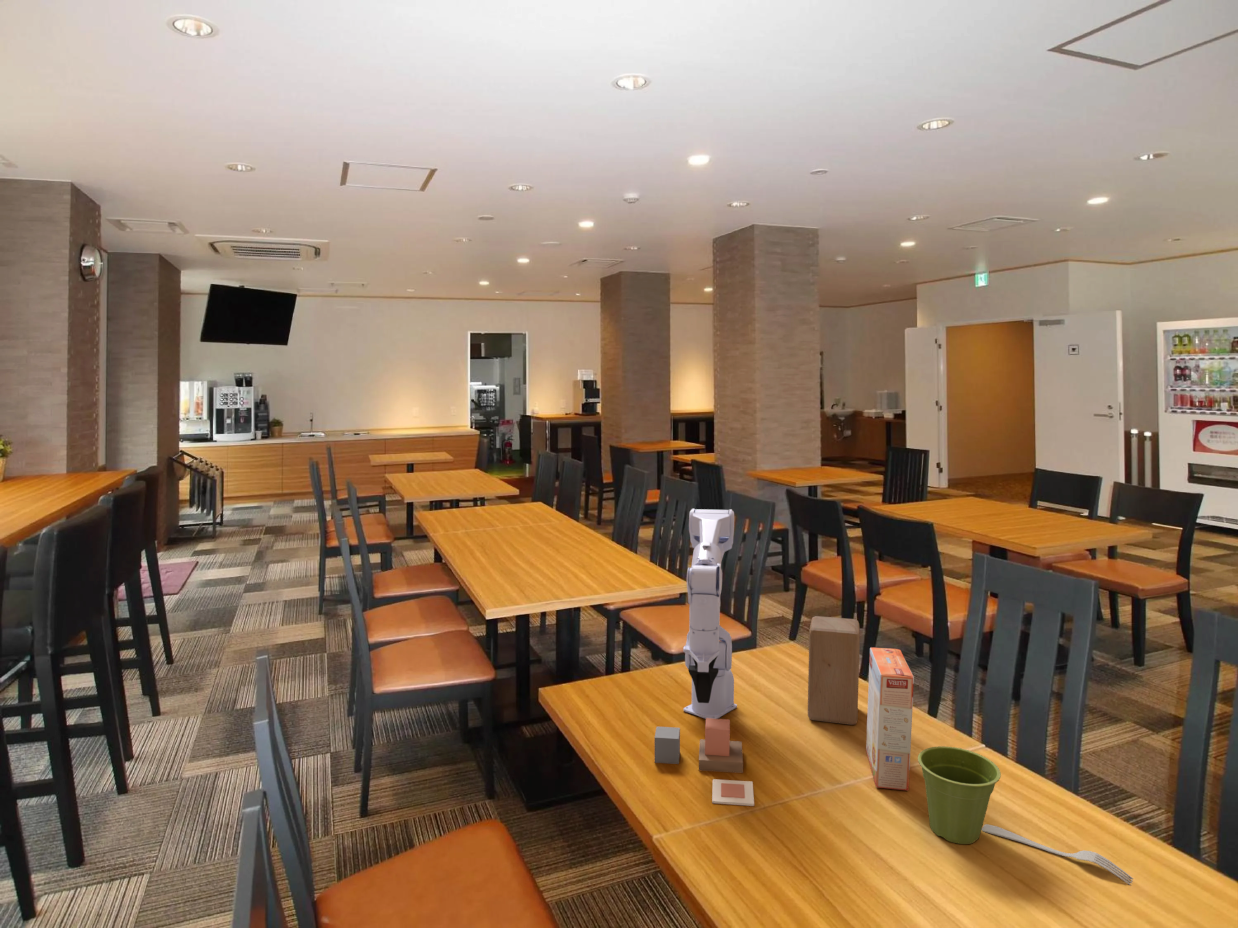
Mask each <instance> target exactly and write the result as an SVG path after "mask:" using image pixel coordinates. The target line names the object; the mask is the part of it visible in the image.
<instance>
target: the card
mask: <svg viewBox="0 0 1238 928" xmlns="http://www.w3.org/2000/svg"><path fill="white" fill-rule="evenodd" d="M753 783H754V782H753V781H749V780H745V781H744V780H735V779H734V780H733V779H731V780H729V779H716V778H715V779H714V778H713V779H712V793H711V794H712V796H711V797H712V798H711V799H712V800H711V801H712V802H711V803H712V804H719V805H720V804H721V805H735V806H748V807H749V806H750V807H754V806H755V799H754V797H755V796H754V795H755V794H754V784H753Z"/></svg>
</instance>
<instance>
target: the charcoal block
mask: <svg viewBox="0 0 1238 928" xmlns="http://www.w3.org/2000/svg"><path fill="white" fill-rule="evenodd" d="M680 753H681V727H675V726H674V727H673V726H672V727H671V726H656V728H655V734H654V763H656V764H659V763H660V764H670V765H671V764H672V765H674V764H675V765H676V764H677V765H679V763H680Z"/></svg>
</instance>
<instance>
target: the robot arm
mask: <svg viewBox="0 0 1238 928" xmlns="http://www.w3.org/2000/svg"><path fill="white" fill-rule="evenodd" d="M688 515H689V517H688V518H689V519H688V531H689V537H690V538H689V539H690V543H691V547H692V549H693V550H692V551H693V553H692V560H691V566H690V567H689V566H688V568H687V571H686V590H687V598H688V600H687V603H688V605H689V613H688V615H689V622H688V624H689V627H688V629H689V631H688V632H687V634H686V643H685V645H684V646H683V649H682V651H683V653H684V654H685V655H684V663H685V664H684V665H685V667H686V668H687V670H688V673H689V676H690V677H691V704H689V705H687V706H685V707H683V711H684V712H685V713H689V714H692V715H694V716H698V717H700V718H703V719H705V720H706V718H712V719H721V717H722V716H725V715H726V714H727V713H730V712H731V711H733V710H734V709H737V707H738V704H737V703H735V697H734V696H735V678H734V674H733V672H732V666H733V664H732V662H733V658H732V657H733V644H732V636H731V633H730V632H729V631H728V630H726V628H724V627H722V626H721V625H720V617H721V616H720V615H721V614H720V613H721V593H722V588H723V571H722V560H723V558H724V554H725V552H727V551H729V550H731V549H733V544H734V535H735V512H734V510H733V509H732V508H731V509H709V508H707V509H705V508H704V509H702V508H701V509H697V508H696V509H695V508H691V509H690V511H689V514H688Z"/></svg>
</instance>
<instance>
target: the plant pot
mask: <svg viewBox="0 0 1238 928" xmlns="http://www.w3.org/2000/svg"><path fill="white" fill-rule="evenodd" d="M917 762H918V764H919V766H920V767H921V771H922V776H923V779H924V785H925V794H926V801H927V811H928V820H929V826H930V828H931V831H932V832H933V833H934V834H935V835H936V836H938V837H941V838H943V839H945V840H946V841H947V842H950V843H954V844H959V845H969V844H973V843H975V842H976V841H977V840H978V839H980V835H981V833H982V830H981V829H982V827H983V826H984V821H985V816H986V813H987V810H988V807H989V806H988V805H989V803H990V798H991V795H992V794H993V792H994V789H995V785H996V784H997V783H998V782H999V781H1000V779H1001V776H1002V775H1001V774H1002V773H1001V770H1000V767H998V765H997V764H996V763H994V761H992V760H991V759H989V758H988V757H986V756H983V755H982V754H980V753H977V752H975V751H973V750H969V749H964V748H961V747H955V746H953V747H952V746H945V745H943V746H942V745H941V746H940V745H939V746H932V747H931V746H930V747H927V748H925V749H923V750H921V751H920V752H919V754H918V756H917Z"/></svg>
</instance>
